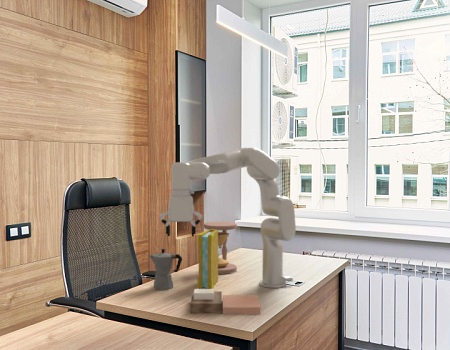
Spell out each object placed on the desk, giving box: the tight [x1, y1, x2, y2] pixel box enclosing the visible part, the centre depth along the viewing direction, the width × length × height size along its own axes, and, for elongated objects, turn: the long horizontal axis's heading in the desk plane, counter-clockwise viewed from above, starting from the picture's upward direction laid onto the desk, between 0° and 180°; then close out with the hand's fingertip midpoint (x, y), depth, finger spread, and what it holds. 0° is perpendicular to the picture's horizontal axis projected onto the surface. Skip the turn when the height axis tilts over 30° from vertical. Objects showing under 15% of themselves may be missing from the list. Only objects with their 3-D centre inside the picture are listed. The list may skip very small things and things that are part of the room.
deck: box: [189, 290, 223, 315], centre depth 187 cm, size 12×16×4 cm
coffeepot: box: [148, 248, 183, 291], centre depth 215 cm, size 15×9×18 cm, turn 85°
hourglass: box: [203, 221, 238, 275], centre depth 248 cm, size 18×18×25 cm
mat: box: [222, 294, 261, 315], centre depth 187 cm, size 14×16×2 cm
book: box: [197, 229, 219, 289], centre depth 220 cm, size 17×7×25 cm, turn 168°
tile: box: [193, 288, 215, 300], centre depth 187 cm, size 8×6×2 cm
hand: (180, 235), depth 187 cm, fingers open, 9 cm apart
